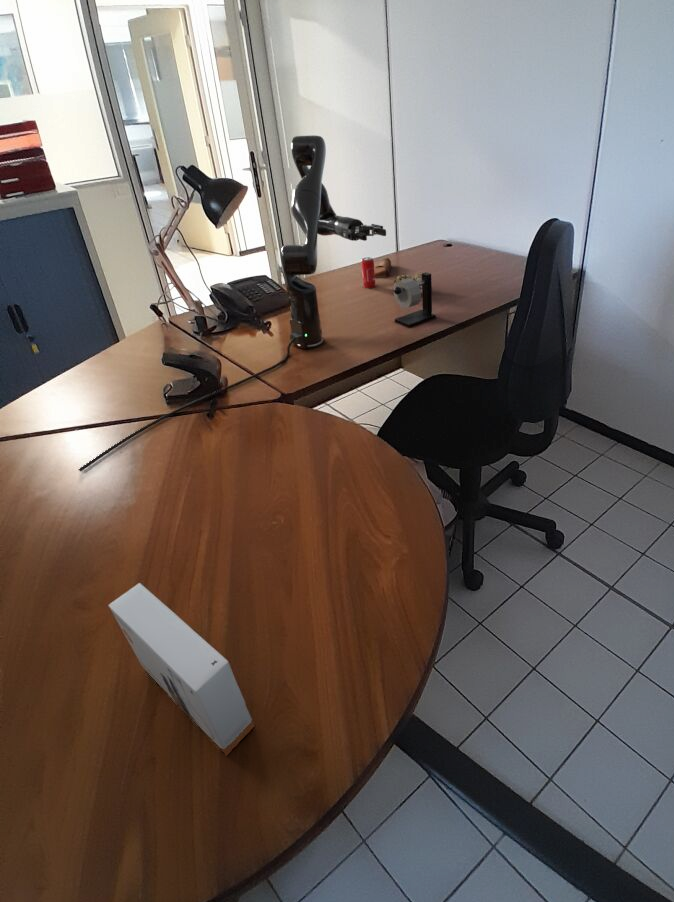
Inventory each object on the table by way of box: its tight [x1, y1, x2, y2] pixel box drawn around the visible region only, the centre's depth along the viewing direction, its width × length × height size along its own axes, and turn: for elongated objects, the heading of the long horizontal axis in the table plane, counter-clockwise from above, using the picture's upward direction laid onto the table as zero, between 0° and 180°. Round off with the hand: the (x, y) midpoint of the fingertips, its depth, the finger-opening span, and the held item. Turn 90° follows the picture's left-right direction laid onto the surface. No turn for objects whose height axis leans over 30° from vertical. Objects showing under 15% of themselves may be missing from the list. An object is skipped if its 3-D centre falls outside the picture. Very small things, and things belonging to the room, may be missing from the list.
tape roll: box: [393, 278, 422, 309], centre depth 194 cm, size 5×10×10 cm, turn 40°
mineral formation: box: [393, 273, 422, 295], centre depth 226 cm, size 8×13×15 cm
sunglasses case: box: [374, 257, 392, 278], centre depth 254 cm, size 18×7×7 cm
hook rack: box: [393, 272, 437, 329], centre depth 197 cm, size 16×8×16 cm, turn 130°
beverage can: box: [361, 256, 376, 289], centre depth 234 cm, size 5×5×12 cm
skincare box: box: [108, 582, 253, 749], centre depth 75 cm, size 21×5×16 cm, turn 52°
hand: (375, 235), depth 190 cm, fingers open, 8 cm apart
